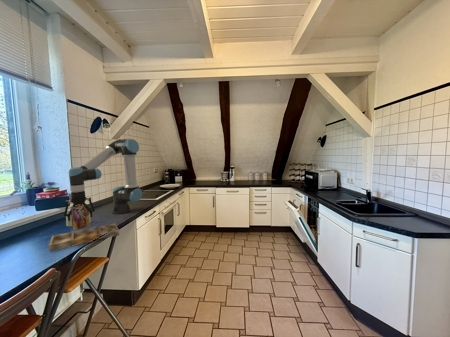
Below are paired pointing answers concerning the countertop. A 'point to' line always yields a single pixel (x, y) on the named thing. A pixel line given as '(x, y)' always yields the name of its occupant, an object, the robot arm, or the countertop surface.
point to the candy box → (80, 217)
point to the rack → (81, 236)
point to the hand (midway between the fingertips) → (81, 223)
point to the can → (67, 219)
